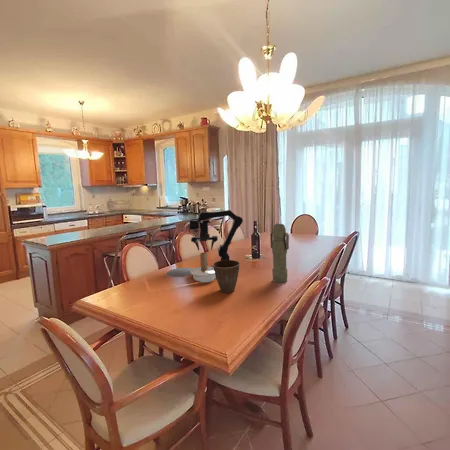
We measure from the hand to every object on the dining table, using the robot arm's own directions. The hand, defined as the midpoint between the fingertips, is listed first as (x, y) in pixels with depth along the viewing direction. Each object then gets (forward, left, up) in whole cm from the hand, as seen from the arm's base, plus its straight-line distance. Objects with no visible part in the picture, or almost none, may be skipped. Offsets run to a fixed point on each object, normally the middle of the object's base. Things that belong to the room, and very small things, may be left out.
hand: (205, 250), depth 206 cm
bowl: (-2, +24, -13) cm, 28 cm away
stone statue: (-49, +31, -13) cm, 59 cm away
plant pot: (-17, +45, -13) cm, 50 cm away
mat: (+16, +12, -13) cm, 24 cm away
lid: (-2, +24, -8) cm, 26 cm away
